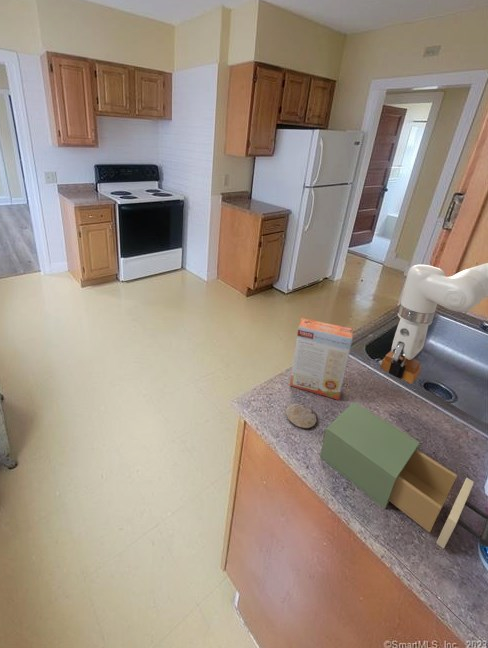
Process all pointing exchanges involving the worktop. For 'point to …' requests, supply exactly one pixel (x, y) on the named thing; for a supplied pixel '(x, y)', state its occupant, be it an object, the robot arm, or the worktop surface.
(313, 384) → the cracker box
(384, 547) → the worktop surface
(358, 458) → the cabinet
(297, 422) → the flatbread
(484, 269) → the robot arm
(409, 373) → the orange block
